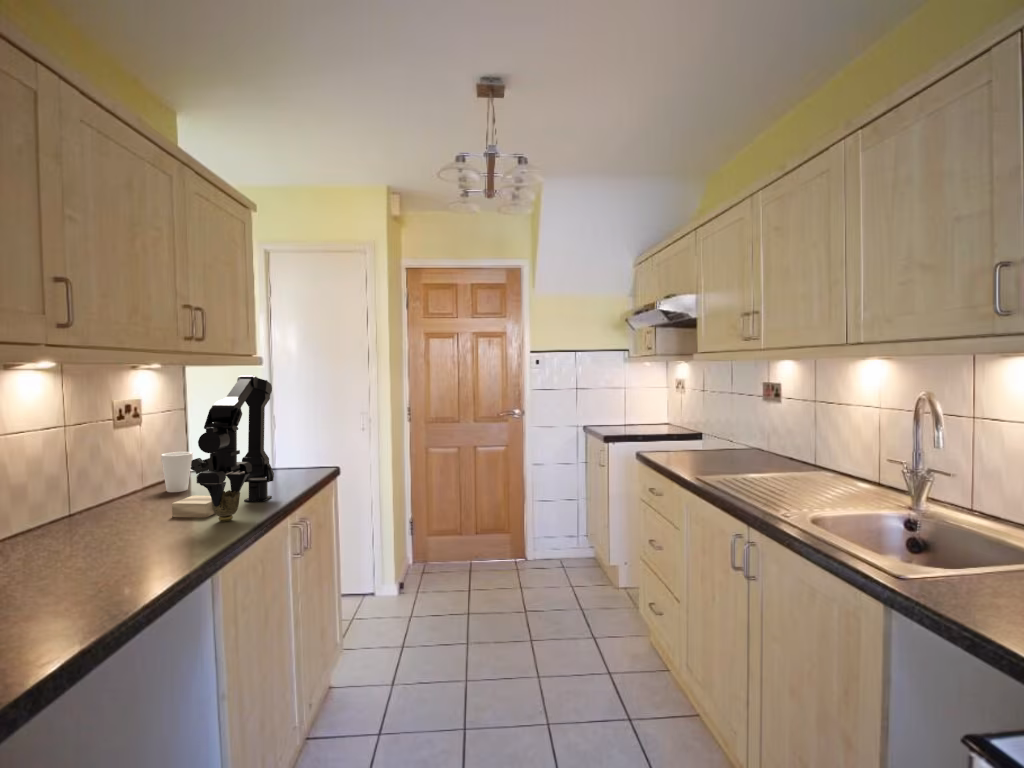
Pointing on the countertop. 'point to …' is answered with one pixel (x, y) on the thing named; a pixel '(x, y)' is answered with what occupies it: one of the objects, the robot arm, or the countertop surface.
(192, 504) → the pedestal
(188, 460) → the foam cup
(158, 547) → the countertop surface
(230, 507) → the cup
